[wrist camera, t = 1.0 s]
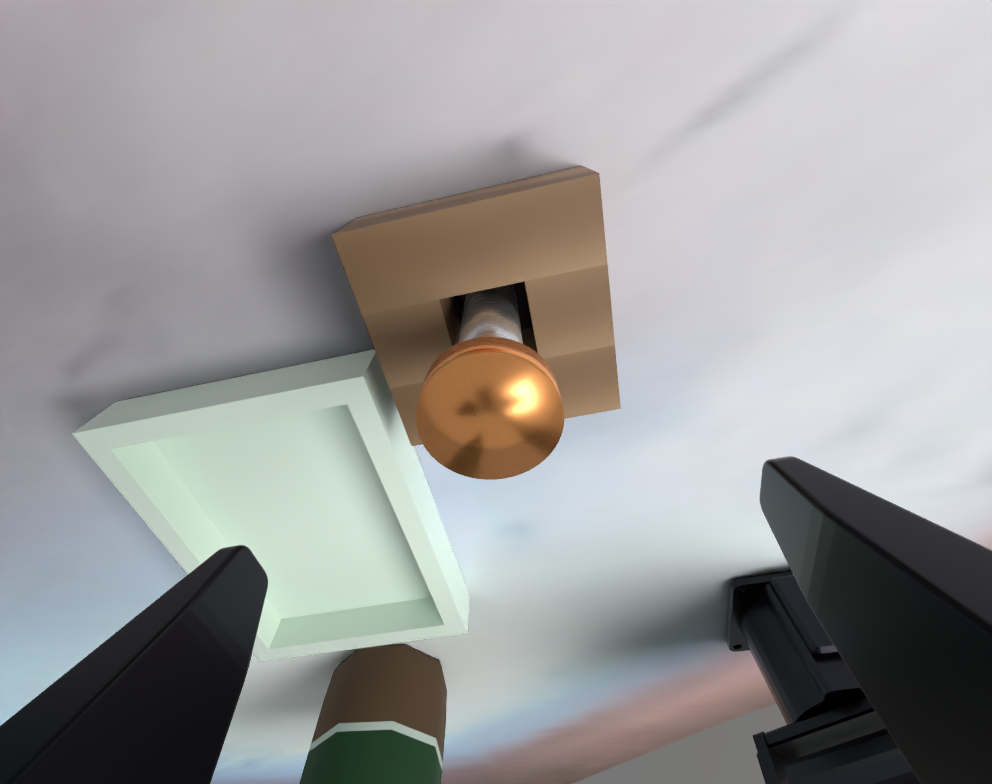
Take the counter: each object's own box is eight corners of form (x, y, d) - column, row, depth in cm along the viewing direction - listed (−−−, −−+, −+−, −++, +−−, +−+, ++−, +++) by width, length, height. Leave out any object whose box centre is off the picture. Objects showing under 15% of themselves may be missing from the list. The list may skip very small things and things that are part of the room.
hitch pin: (541, 332, 19) (573, 466, 11) (459, 348, 19) (438, 489, 12) (526, 248, 17) (552, 341, 10) (436, 267, 17) (395, 371, 10)
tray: (469, 594, 27) (467, 633, 25) (277, 622, 28) (260, 661, 26) (377, 348, 19) (363, 376, 17) (115, 401, 20) (71, 433, 18)
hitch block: (603, 371, 19) (620, 408, 17) (421, 405, 20) (411, 446, 18) (581, 165, 16) (598, 173, 13) (356, 217, 16) (331, 234, 14)
